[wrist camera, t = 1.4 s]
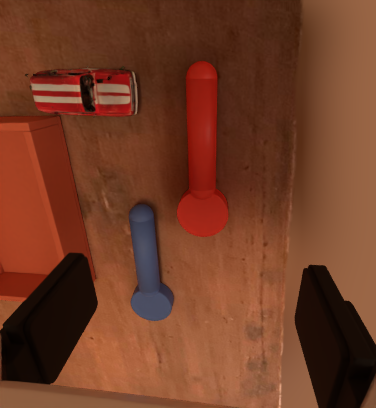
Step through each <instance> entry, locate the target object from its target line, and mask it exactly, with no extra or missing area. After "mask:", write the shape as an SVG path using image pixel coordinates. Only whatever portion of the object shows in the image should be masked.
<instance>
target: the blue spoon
mask: <svg viewBox="0 0 376 408" xmlns="http://www.w3.org/2000/svg"><path fill="white" fill-rule="evenodd" d="M129 222H130V229H131V236H132V243H133V251H134V258H135V265H136V272H137V280H138V286H137V287H136V289H135V291H134V293H133V296H132V298H131V306H132V308H133V310H134V311H135V313H136V314H137V315H139V316H140V317H142V318H144V319H147V320H151V321H158V320H162V319H165V318H166V317H167V316H168V315H169V314H170V312H171V309H172V305H173V301H174V298H173V294H172V292H171V290H170V289H169V288H168V287H167V286H165V285H164V284H162V283H160V277H159V266H158V255H157V245H156V234H155V223H154V214H153V211H152V209H151V208H150V207H149V206H147V205H145V204H138V205H135V206H134V207H133V208H132V209H131V210H130V213H129Z"/></svg>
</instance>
